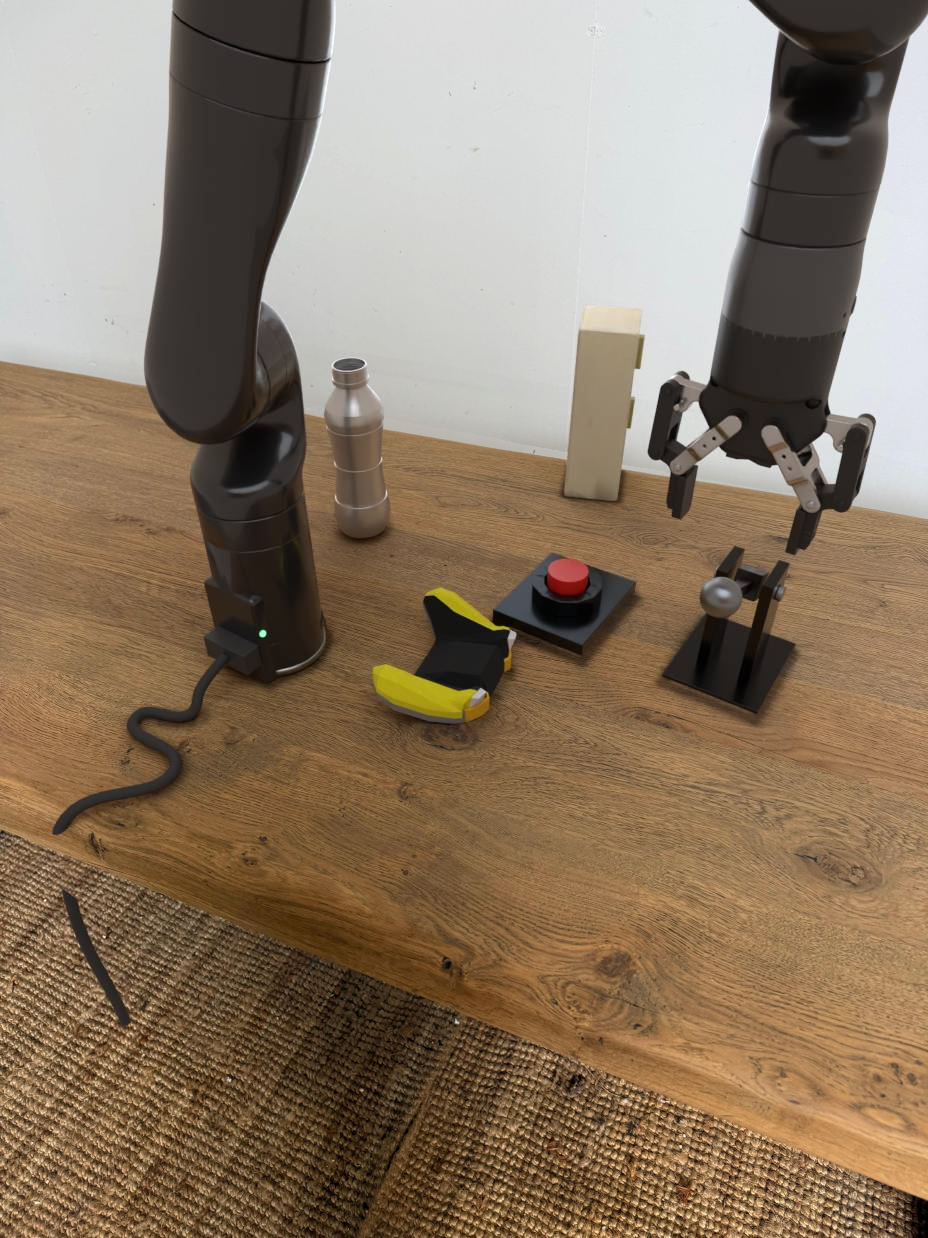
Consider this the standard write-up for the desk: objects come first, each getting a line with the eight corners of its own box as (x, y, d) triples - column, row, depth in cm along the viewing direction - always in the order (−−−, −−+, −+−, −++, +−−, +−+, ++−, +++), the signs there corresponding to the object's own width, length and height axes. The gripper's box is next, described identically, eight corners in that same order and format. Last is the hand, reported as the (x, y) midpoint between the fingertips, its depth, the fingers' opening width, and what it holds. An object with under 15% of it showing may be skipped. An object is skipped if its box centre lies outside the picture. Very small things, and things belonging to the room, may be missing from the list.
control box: (580, 662, 82) (584, 630, 80) (492, 626, 87) (492, 595, 84) (634, 598, 90) (638, 567, 88) (550, 568, 95) (552, 537, 92)
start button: (575, 601, 84) (576, 586, 83) (539, 587, 86) (540, 573, 85) (594, 580, 87) (595, 566, 86) (559, 568, 88) (560, 553, 87)
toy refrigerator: (623, 503, 105) (645, 333, 92) (563, 497, 106) (576, 328, 93) (627, 471, 111) (648, 307, 98) (570, 466, 112) (583, 303, 99)
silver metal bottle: (326, 538, 99) (304, 372, 87) (353, 509, 104) (337, 348, 92) (376, 550, 97) (361, 381, 85) (401, 520, 102) (391, 356, 90)
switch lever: (729, 627, 65) (742, 587, 64) (689, 612, 67) (702, 573, 66) (764, 603, 76) (776, 569, 76) (729, 592, 78) (741, 558, 77)
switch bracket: (755, 721, 76) (785, 617, 69) (660, 683, 80) (679, 581, 73) (793, 652, 83) (824, 551, 76) (704, 620, 87) (725, 521, 80)
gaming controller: (365, 721, 77) (470, 752, 74) (360, 675, 73) (470, 706, 70) (432, 622, 87) (526, 645, 85) (431, 578, 84) (528, 600, 81)
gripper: (652, 305, 54) (624, 526, 64) (892, 352, 47) (819, 588, 58) (698, 273, 59) (665, 483, 69) (921, 312, 52) (849, 536, 63)
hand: (735, 531), depth 63 cm, fingers open, 8 cm apart
